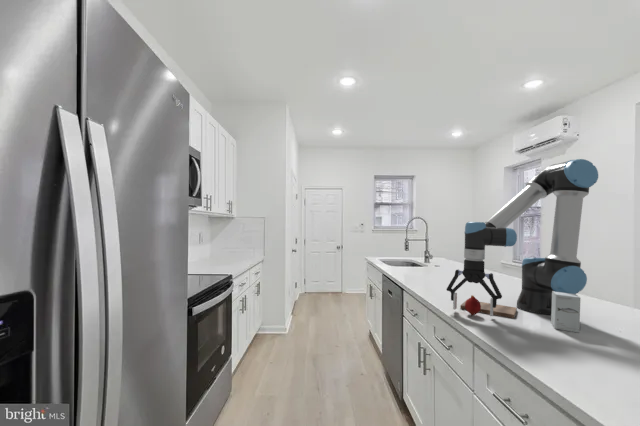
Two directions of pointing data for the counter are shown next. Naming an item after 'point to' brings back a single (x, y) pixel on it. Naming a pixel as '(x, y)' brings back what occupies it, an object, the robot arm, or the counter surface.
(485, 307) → the walnut board
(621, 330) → the counter surface
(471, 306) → the onion
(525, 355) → the counter surface
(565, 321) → the supplement box
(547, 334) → the counter surface
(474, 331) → the counter surface
